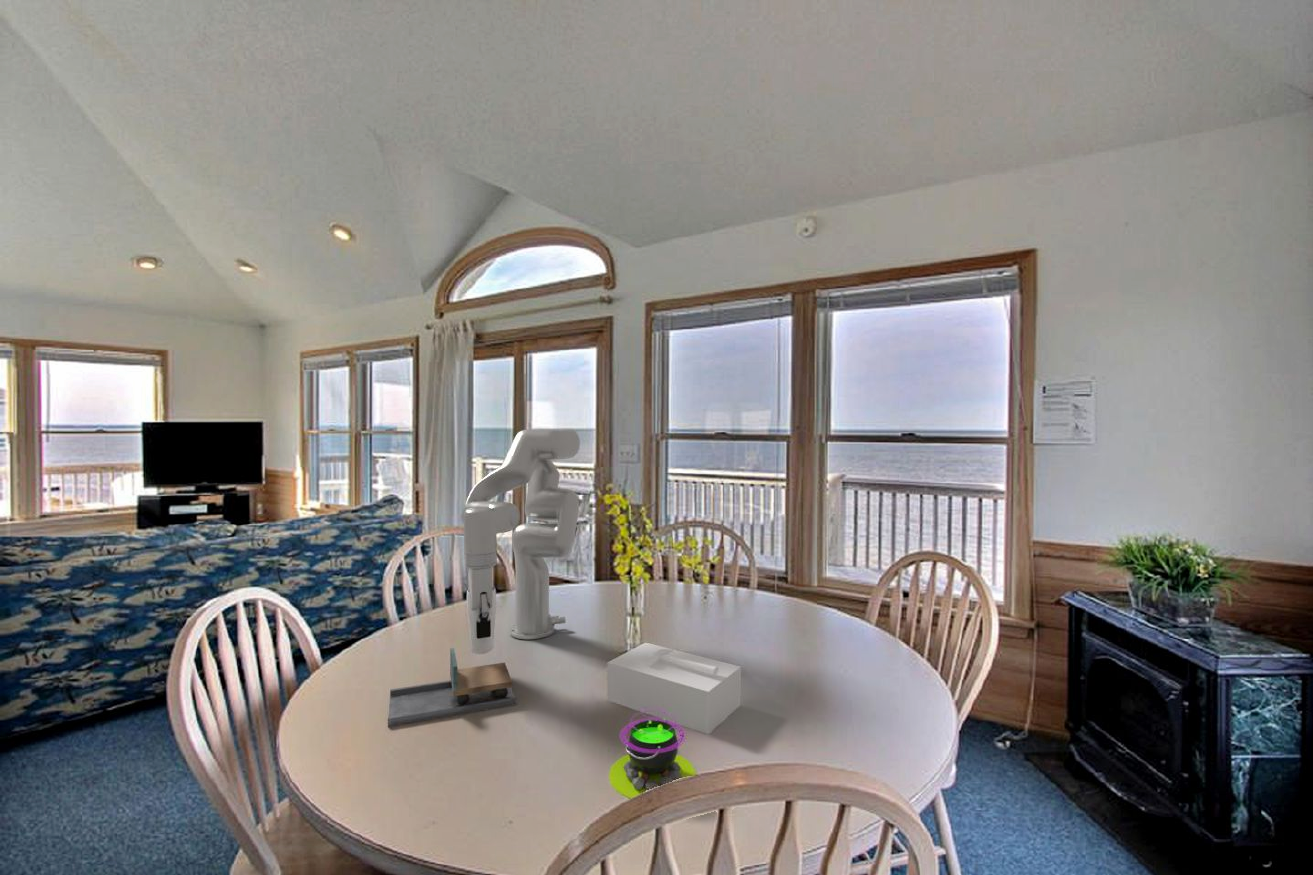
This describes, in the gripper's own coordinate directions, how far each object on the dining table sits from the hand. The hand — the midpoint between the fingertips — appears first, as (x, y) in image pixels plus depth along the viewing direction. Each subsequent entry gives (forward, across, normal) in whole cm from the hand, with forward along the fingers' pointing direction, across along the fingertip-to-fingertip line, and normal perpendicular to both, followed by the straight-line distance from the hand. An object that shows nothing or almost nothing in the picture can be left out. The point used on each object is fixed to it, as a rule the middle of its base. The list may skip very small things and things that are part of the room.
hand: (482, 631), depth 142 cm
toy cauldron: (+9, +54, +22) cm, 60 cm away
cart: (+10, +13, -2) cm, 16 cm away
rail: (+9, +13, -8) cm, 18 cm away
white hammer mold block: (+10, +32, +36) cm, 49 cm away
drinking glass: (+5, 0, 0) cm, 5 cm away
